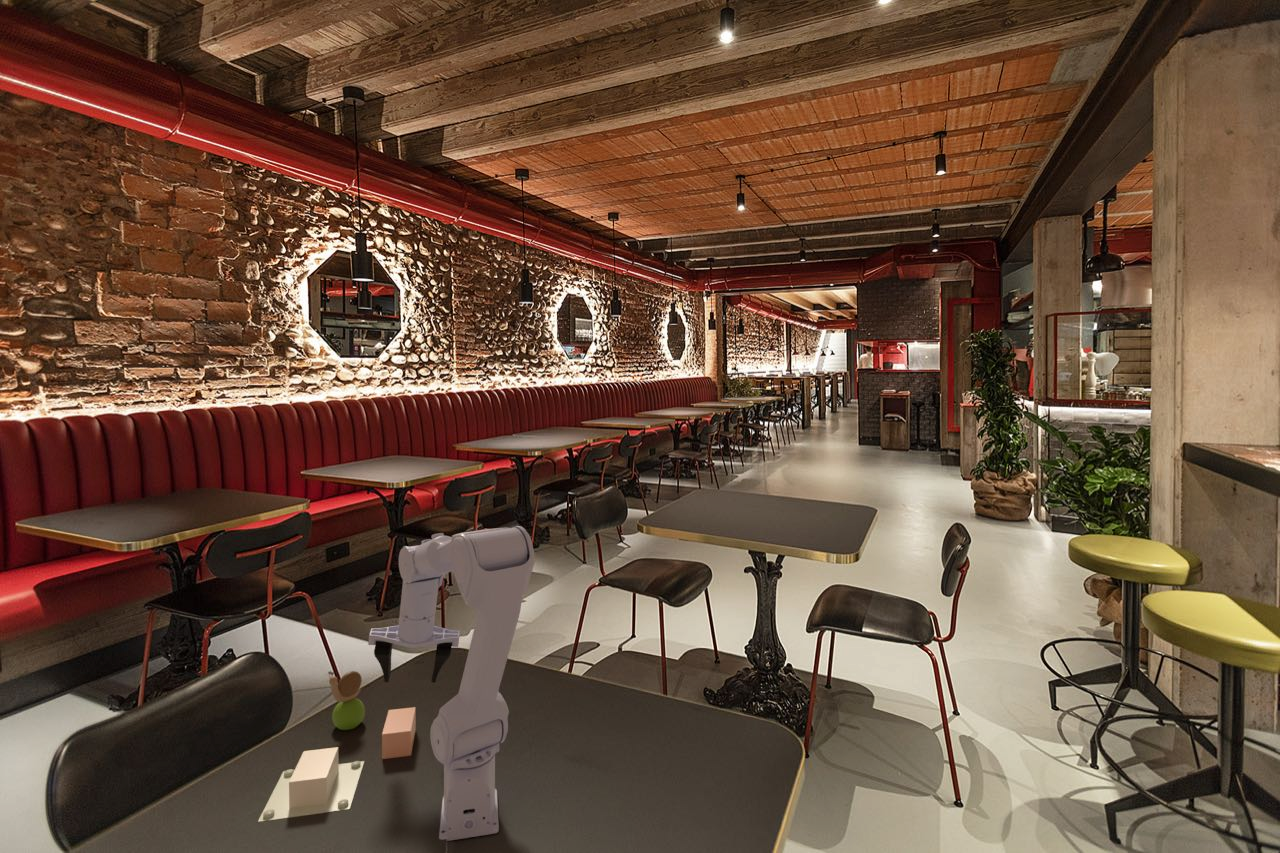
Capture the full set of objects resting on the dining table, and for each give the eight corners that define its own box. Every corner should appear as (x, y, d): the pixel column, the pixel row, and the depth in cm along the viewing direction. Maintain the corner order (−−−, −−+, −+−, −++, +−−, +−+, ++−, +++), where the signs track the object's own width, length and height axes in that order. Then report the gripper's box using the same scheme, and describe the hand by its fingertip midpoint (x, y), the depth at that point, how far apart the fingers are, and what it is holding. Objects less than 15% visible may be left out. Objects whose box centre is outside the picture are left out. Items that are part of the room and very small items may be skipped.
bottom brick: (326, 803, 92) (326, 777, 92) (289, 808, 91) (288, 782, 91) (338, 771, 100) (338, 747, 100) (304, 775, 99) (303, 751, 98)
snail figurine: (320, 734, 111) (319, 668, 111) (351, 717, 117) (351, 655, 116) (340, 742, 109) (339, 675, 108) (371, 725, 115) (371, 661, 114)
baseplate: (349, 812, 91) (349, 806, 91) (257, 825, 88) (257, 819, 88) (364, 764, 103) (364, 758, 103) (283, 774, 100) (283, 768, 100)
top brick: (410, 759, 104) (410, 730, 104) (382, 763, 103) (381, 734, 103) (415, 734, 112) (415, 707, 112) (389, 737, 111) (388, 709, 111)
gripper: (463, 599, 111) (455, 664, 114) (376, 595, 107) (370, 663, 110) (461, 622, 104) (452, 690, 108) (368, 619, 100) (362, 690, 104)
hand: (410, 678), depth 108 cm, fingers open, 7 cm apart
